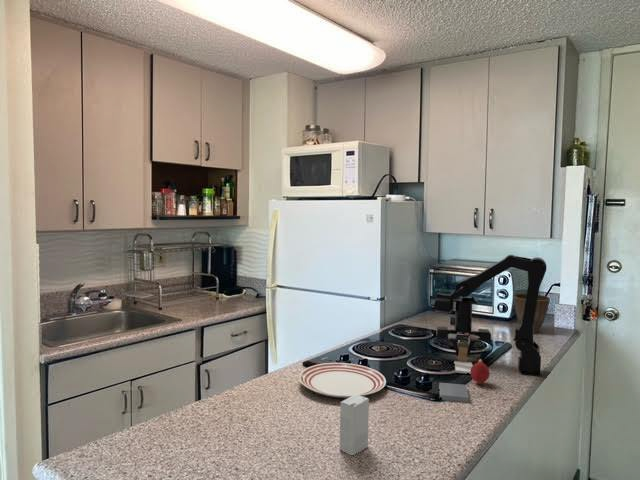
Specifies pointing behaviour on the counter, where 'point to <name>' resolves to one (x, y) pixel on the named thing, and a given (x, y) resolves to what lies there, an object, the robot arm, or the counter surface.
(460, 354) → the turner
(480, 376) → the onion
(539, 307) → the plant pot
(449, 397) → the tile
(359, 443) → the skincare box
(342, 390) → the dinner plate
